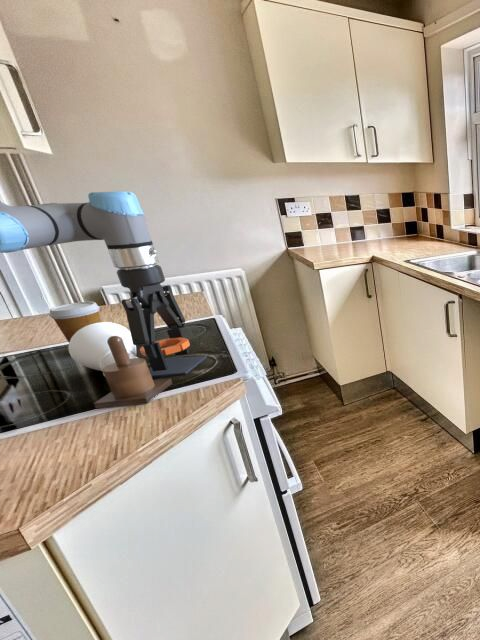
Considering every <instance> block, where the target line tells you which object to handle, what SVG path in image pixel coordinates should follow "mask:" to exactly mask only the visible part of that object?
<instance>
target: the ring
mask: <svg viewBox="0 0 480 640" xmlns="http://www.w3.org/2000/svg"><path fill="white" fill-rule="evenodd" d="M155 342H159V344H160V347H161V350H162V353H163V355H164V356H168V355H173V354H175V353H176V352H180V351H181V350H184V349H186V348H189V347H190V345H191V344H190V340H189V339H187V338H185V337H184V338H181V337H179V338H169V337H168V338H163V339H159V340H155ZM172 345H173V346H172ZM139 352H140V354H141V356H143V357H145V358H148V357H147V355H146V352H145V350H144V347H143V346H141V347H140V348H139Z"/></svg>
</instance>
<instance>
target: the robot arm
mask: <svg viewBox="0 0 480 640" xmlns="http://www.w3.org/2000/svg"><path fill="white" fill-rule="evenodd" d="M87 196H88V197H87V198H88V202H66V203H65V202H64V203H62V202H61V203H58V202H50V203H49V202H48V203H41V204H32V205H30V204H29V205H28V204H27V205H9V204H6V203H4V202H2V201H0V254H8V253H9V254H10V253H15V252H18V251H23V250H29V249H30V250H31V249H35V248H41V247H49V246H55V245H61V244H66V243H67V244H68V243H73V242H86V241H104V243H105V245H106V248H107V251H108V253H109V257H110V259H111V262H112V264H113V267H114V268H116V269H117V271H116V275H117V278H118V280H119V282H120V285H121V286H122V287H123V288H127V289H129V291H130V297H129V298H124V299H121V304H122V307H123V308H124V310H125V315H126V319H127V323H128V327H129V331H130V332H131V337H132V341H133V344H134V345H136V346H141V347H144V350H145V352H146V355H147V357H146V358H147V359H148V362H149V365H150V367H152V370H153V371H161V370H167V369H168V366H167V364H166V361H165V359H166V358H165V355H163V353H162V350H161V348H162V347H160V344H159V342H155V341H156V330H155V329H156V327H155V314H156V313H157V315H159V317H160V318H161V320H162V321H163V322H164V324H165V325H166V326H167V328H168V329H167V330H166V332H167V335H168V338H179V337H181V338H185V336H184V333H183V330H182V329H183V328H186V326H187V324H186V319H185V317H184V314H183V312H182V310H181V308H180V306H179V303H178V302H177V300H176V298H175V296H174V293H173V288H172V286H171V284H164V285H161V284H163V283H164V282H165V281H166V277H165V275H164V272H163V268H162V266H160V265H159V264H158V263H159V262H160V261H159V258H158V255H157V254H158V252H157V250H156V248H155V246H154V243H153V240H152V237H151V234H150V231H149V228H148V225H147V221H146V218H145V213H144V211H143V210H142V207H141V205H140V202H139V199H138V198H137V195H136V194H135V193H134V192H132V191H129V190H117V191H92V192H89V193H88V195H87ZM171 346H173V345H171ZM185 355H190V351H189V347H187V348H186V349H184V350H181V351H180V352H176V353H174V356H185Z"/></svg>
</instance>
